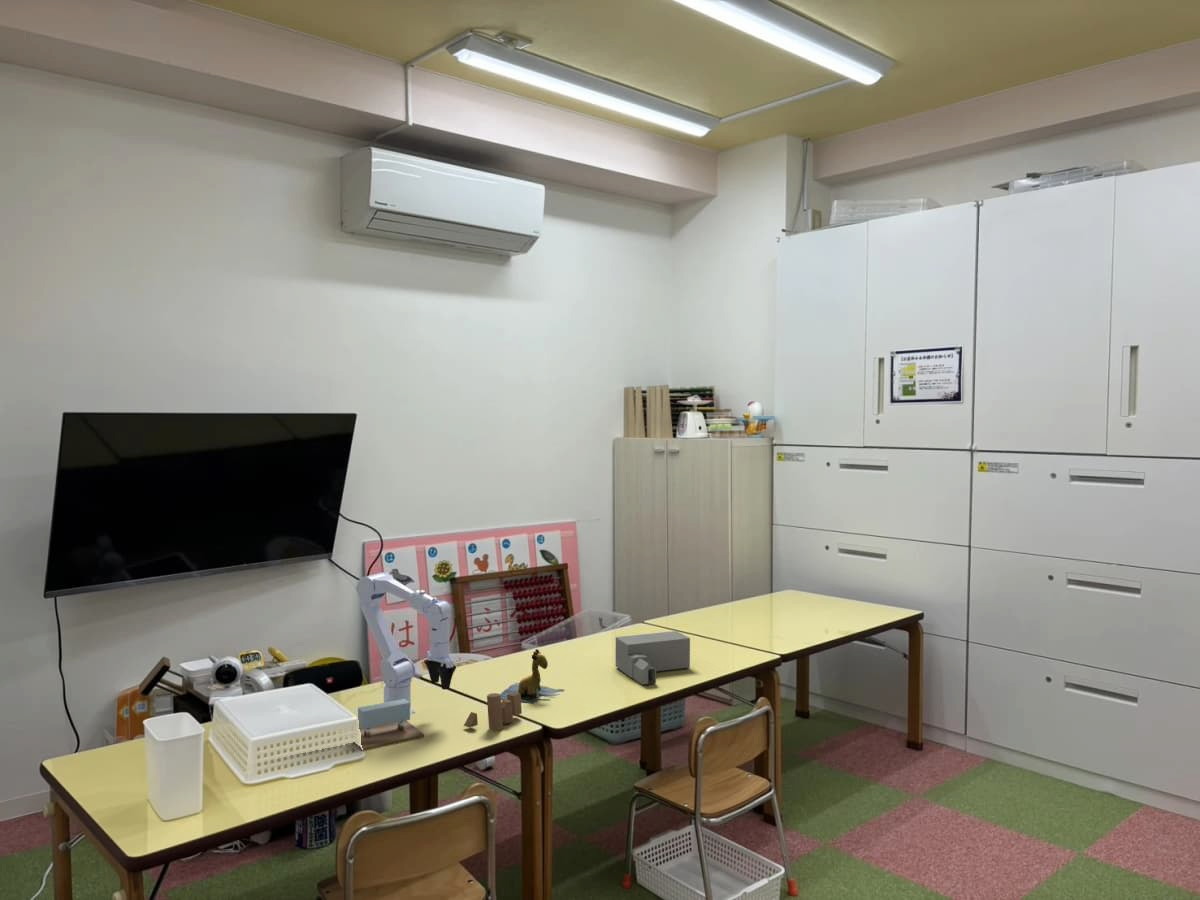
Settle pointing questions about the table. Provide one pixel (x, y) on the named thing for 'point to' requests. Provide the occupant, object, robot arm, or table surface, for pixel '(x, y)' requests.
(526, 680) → the stuffed giraffe
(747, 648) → the table surface
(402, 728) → the peg plate
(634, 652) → the gray box with nozzle
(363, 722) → the blue-grey rectangular block
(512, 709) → the wooden block set
